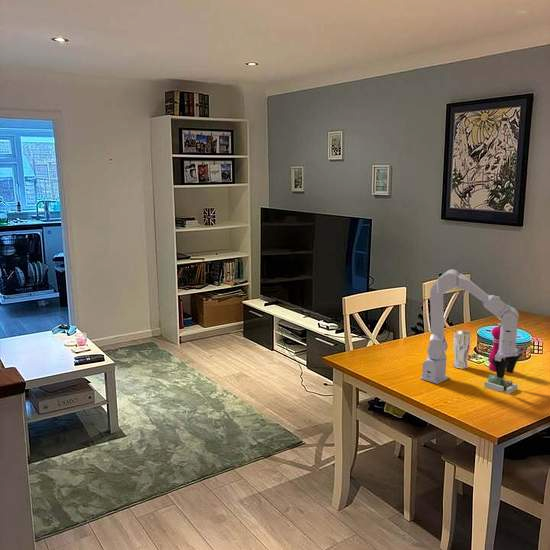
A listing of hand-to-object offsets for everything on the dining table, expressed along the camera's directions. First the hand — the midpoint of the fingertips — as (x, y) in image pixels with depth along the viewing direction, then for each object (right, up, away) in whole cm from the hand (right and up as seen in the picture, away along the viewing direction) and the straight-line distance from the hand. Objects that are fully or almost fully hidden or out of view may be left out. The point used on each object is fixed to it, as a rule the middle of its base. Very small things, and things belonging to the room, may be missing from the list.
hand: (504, 374), depth 206 cm
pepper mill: (+6, -2, +21) cm, 22 cm away
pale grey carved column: (-8, -1, +25) cm, 26 cm away
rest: (-1, -5, +2) cm, 6 cm away
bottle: (-4, -3, +5) cm, 7 cm away
